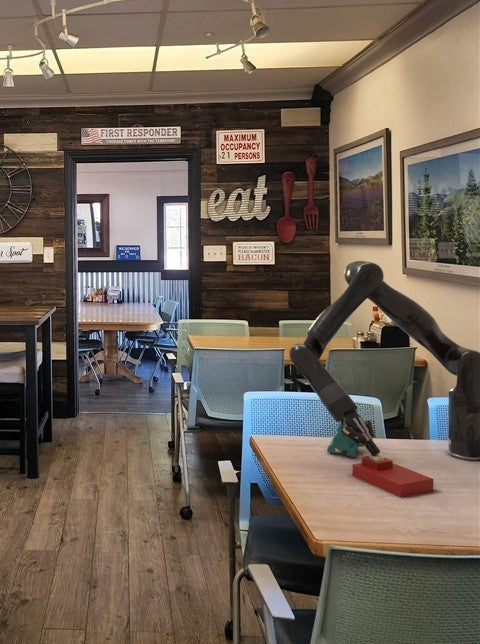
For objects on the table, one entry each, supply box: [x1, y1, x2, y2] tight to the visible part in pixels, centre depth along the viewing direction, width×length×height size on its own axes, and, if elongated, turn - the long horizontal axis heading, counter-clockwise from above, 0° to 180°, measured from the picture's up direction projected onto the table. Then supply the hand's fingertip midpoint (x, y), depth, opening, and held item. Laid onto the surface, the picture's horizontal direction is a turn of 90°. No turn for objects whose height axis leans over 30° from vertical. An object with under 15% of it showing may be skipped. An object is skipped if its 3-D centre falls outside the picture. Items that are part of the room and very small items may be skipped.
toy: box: [326, 422, 365, 459], centre depth 193 cm, size 10×12×15 cm
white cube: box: [368, 454, 386, 462], centre depth 171 cm, size 3×3×3 cm
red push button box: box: [351, 455, 434, 498], centre depth 167 cm, size 12×16×5 cm
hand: (377, 454), depth 171 cm, fingers closed
